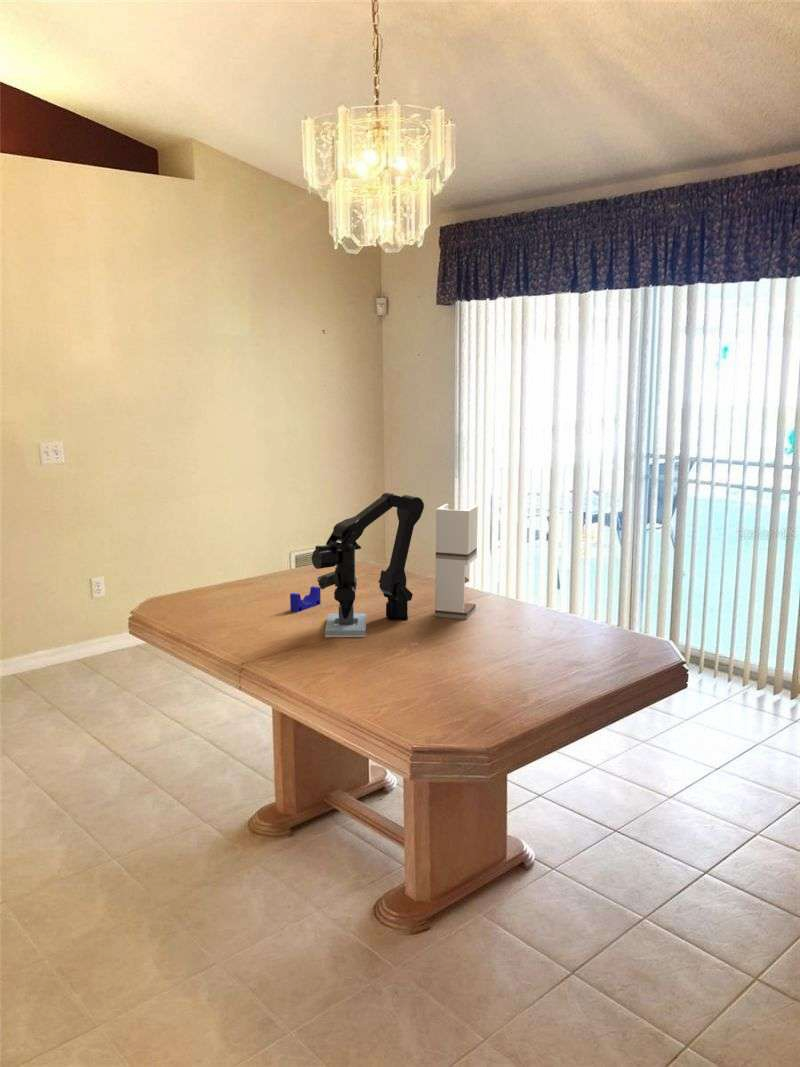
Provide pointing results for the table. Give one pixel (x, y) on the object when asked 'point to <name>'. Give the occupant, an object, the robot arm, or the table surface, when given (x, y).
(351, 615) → the plug
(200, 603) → the table surface
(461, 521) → the white dispenser
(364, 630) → the socket
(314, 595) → the blue notched cradle
